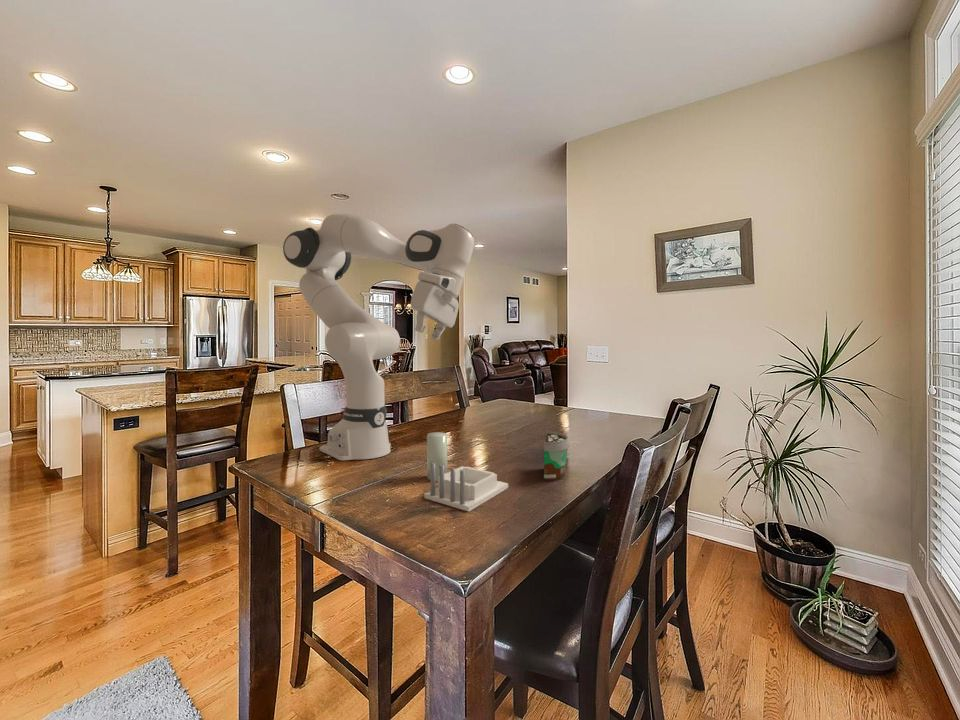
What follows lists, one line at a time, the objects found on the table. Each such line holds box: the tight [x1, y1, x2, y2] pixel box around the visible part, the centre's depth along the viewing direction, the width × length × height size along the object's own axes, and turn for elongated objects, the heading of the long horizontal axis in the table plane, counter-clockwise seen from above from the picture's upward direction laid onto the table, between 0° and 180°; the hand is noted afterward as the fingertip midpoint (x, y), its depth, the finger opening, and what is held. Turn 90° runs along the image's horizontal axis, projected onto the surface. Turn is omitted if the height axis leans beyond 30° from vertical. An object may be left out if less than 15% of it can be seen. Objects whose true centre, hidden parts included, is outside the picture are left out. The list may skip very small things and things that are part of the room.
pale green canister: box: [426, 431, 448, 482], centre depth 104 cm, size 5×5×11 cm
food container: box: [543, 430, 571, 482], centre depth 106 cm, size 12×6×10 cm, turn 168°
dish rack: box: [423, 463, 509, 512], centre depth 94 cm, size 12×16×8 cm
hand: (427, 335), depth 108 cm, fingers open, 8 cm apart
